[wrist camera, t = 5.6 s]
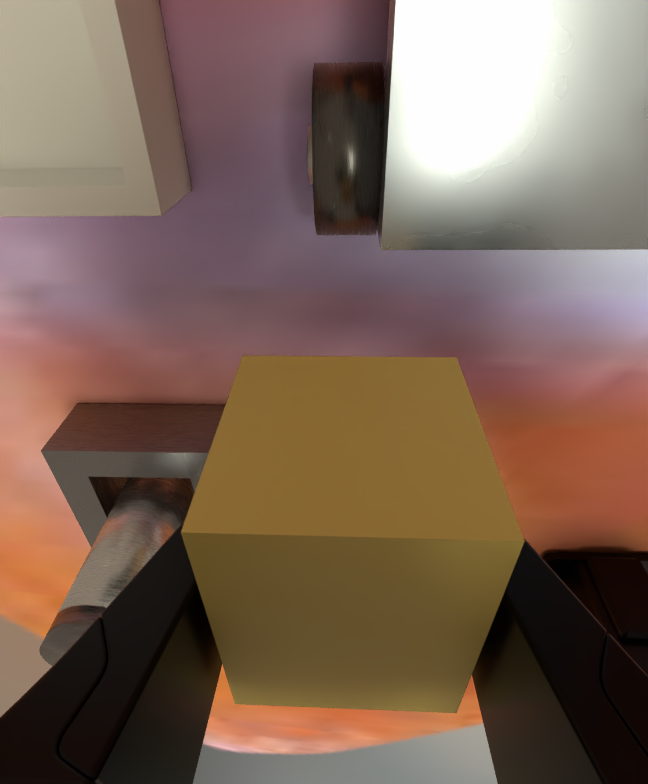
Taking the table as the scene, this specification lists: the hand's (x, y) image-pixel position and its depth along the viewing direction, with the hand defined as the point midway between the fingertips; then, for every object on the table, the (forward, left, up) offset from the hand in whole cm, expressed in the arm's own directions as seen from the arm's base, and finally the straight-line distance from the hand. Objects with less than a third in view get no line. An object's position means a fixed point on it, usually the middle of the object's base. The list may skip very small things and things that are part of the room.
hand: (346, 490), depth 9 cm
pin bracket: (-8, +8, -9) cm, 15 cm away
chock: (0, 0, -1) cm, 1 cm away
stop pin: (-8, +8, -9) cm, 15 cm away
